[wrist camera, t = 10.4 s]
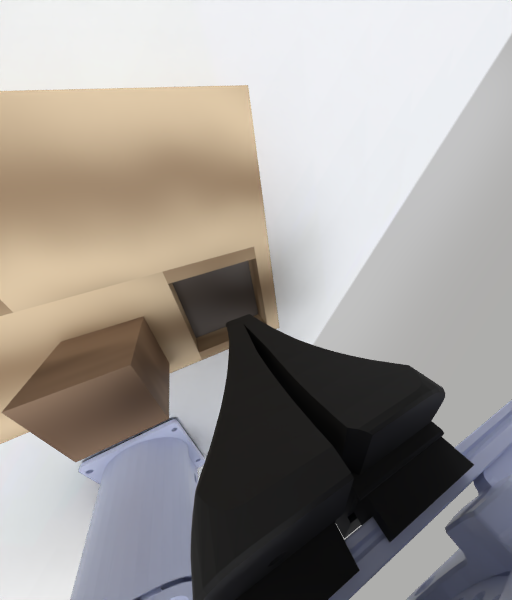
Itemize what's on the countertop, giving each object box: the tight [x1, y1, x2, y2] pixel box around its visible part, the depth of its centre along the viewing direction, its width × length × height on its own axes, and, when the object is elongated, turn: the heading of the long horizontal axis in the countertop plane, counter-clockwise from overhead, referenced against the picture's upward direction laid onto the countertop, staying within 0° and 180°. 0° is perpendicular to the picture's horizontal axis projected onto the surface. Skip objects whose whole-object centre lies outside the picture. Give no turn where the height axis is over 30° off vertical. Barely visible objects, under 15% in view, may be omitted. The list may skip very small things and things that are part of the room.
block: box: [1, 316, 170, 462], centre depth 9 cm, size 4×4×4 cm
